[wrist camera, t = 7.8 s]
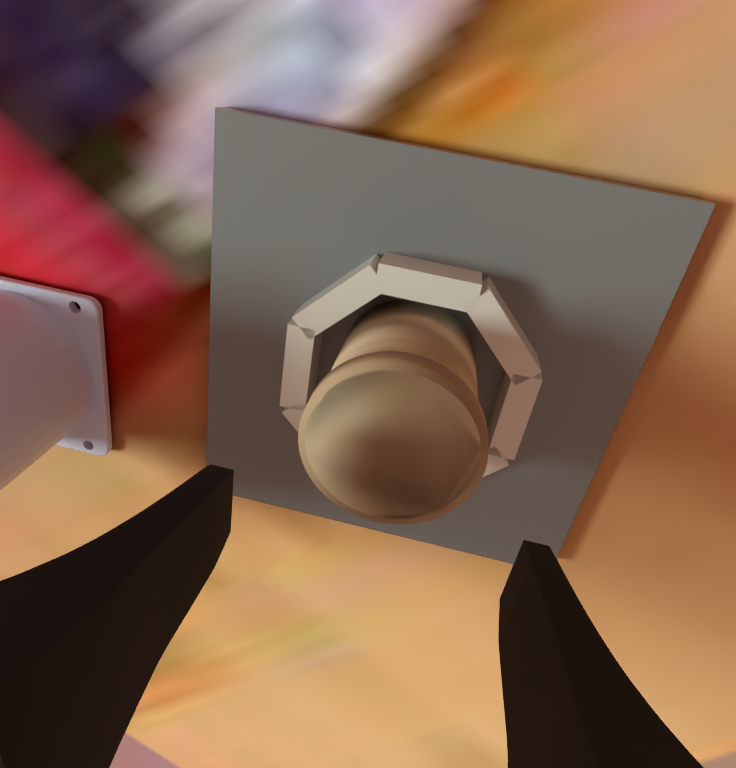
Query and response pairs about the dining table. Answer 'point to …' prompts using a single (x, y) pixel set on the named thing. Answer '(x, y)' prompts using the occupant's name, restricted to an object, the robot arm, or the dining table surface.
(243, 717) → the dining table surface
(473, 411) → the cup
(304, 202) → the collar board
